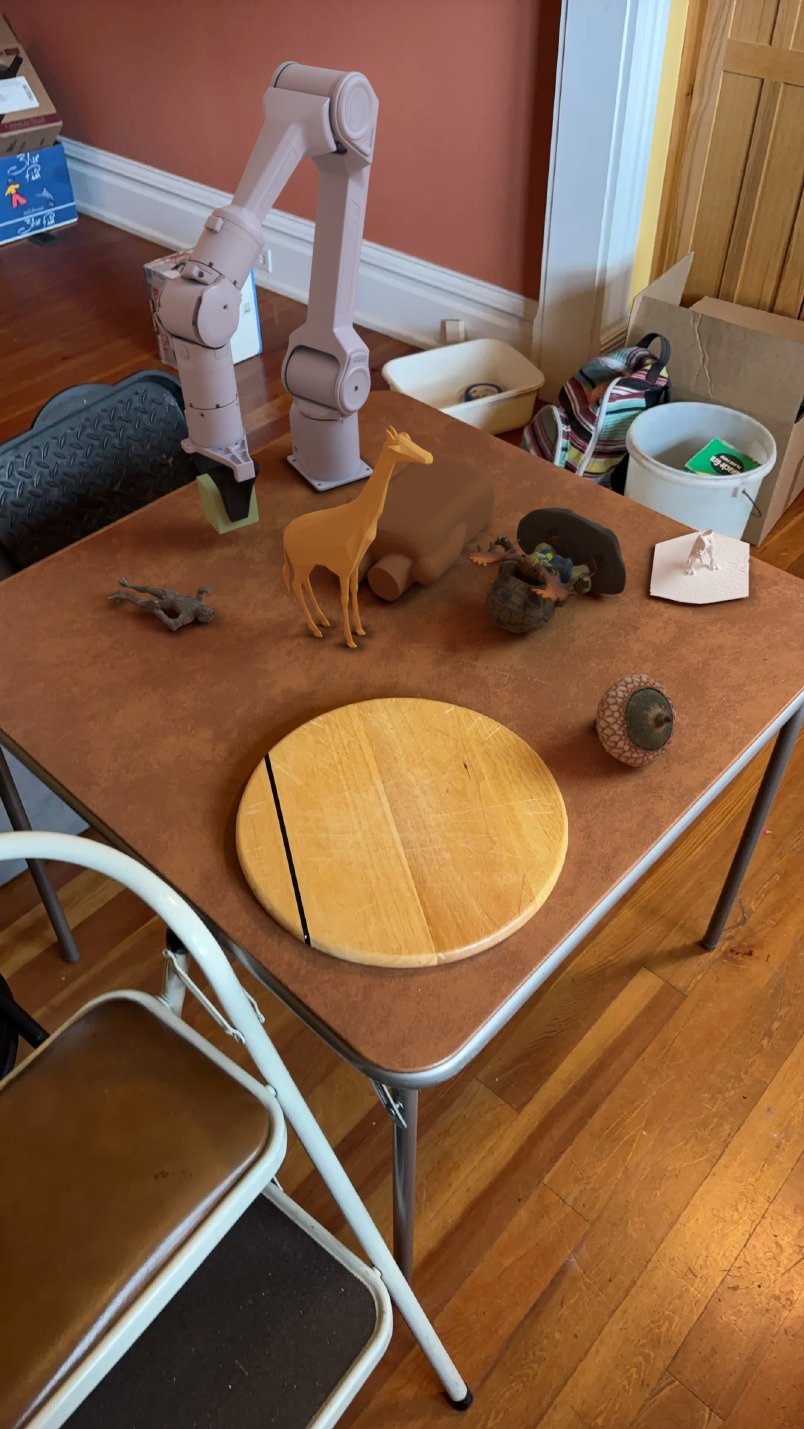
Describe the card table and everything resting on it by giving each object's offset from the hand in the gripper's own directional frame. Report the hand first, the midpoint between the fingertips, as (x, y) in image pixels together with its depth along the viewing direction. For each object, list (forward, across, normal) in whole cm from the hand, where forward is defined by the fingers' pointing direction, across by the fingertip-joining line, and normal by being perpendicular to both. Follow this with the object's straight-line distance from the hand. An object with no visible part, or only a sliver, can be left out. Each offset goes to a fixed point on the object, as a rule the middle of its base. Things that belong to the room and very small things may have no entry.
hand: (229, 507), depth 114 cm
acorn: (+4, +47, +16) cm, 50 cm away
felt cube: (+1, 0, 0) cm, 1 cm away
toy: (+4, +14, +17) cm, 22 cm away
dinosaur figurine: (+5, +35, +42) cm, 54 cm away
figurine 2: (+4, +30, +23) cm, 38 cm away
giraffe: (+4, +24, +3) cm, 25 cm away
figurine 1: (+4, +9, -12) cm, 16 cm away
